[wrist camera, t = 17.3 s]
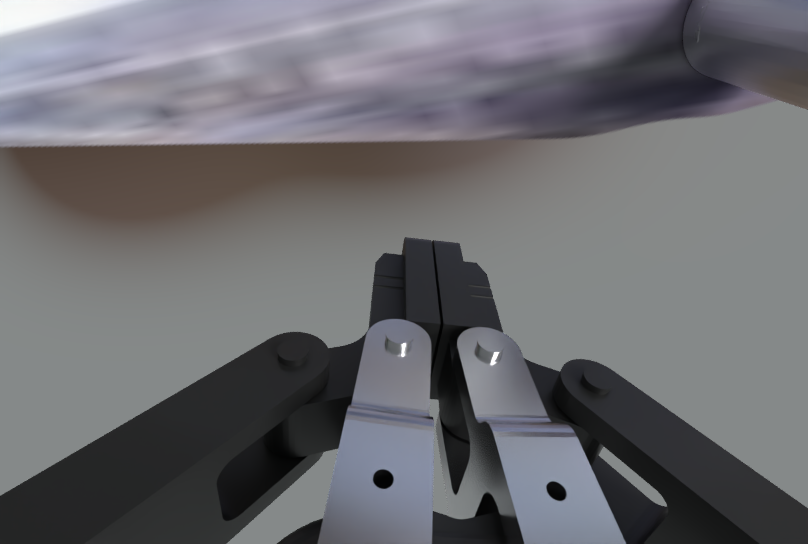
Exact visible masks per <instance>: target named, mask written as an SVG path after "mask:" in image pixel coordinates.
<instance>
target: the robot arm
mask: <svg viewBox="0 0 808 544" xmlns="http://www.w3.org/2000/svg"><path fill="white" fill-rule="evenodd" d="M683 48H684V51H685V54H686V57H687V59H688V61H689V62H690V64H691V66H692V67H693V68H694V69H696V70H697V71H698V72H699V73H701V74H703V75H706V76H708V77H711V78H714V79H717V80H720V81H723V82H726V83H729V84H732V85H734V86H737V87H740V88H743V89H746V90H749V91H752V92H755V93H758V94H761V95H764V96H767V97H770V98H773V99H776V100H779V101H782V102H785V103H789V104H791V105H794V106H797V107H800V108H803V109H807V110H808V0H693V1H692V3H691V5H690V6H689V9H688V12H687V15H686V19H685V22H684V29H683ZM430 399H438V400H439V414H438V418H437V422H436V433H437V440H438V446H439V452H440V459H441V464H442V471H443V477H444V484H445V490H446V496H447V504H448V516H446V515H443V514H440V513H437V512H434V511H433V463H434V459H433V458H434V420H433V417H430V415H429V409H430ZM603 447H605V448H607V449H608V450H609V451H610V452H612V453H613V454H614V455H615V456H616V457H617V458H619V459H620V460H621V461H622V462H624V463H625V464H626V465H627V466H628V467H630V468H631V469H632V470H633V471H634V472H636V473H637V474H638V475H639V476H640V477H641V478H643V479H644V480H645V481H646V482H647V483H649V484H650V485H651V486H652V487H653V488H655V489H656V490H657V491H658V492H659V493H660V494H661V495H662V497H663V498H664V500H665V502H666V503H667V507H664V506H660V505H658V504H656V503H654V502H653V501H651V500H650V499H649V498H648V497H646V496H645V495H644V494H643V493H642V492H640V491H639V490H638V489H637V488H636V487H635V486H633V485H632V484H631V483H630V482H629V481H628V480H626V479H625V478H624V477H623V476H622V475H621V474H619V473H618V472H617V471H616V470H615V469H614V468H612V467H611V466H610V465H609V464H608V463H607V462H605V461H604V460H603V459H602V458H601V457H600V456H598V455H599V453H600V451H601V450H602V448H603ZM338 448H339V449H338ZM333 449H338V454H337V458H336V463H335V467H334V471H333V476H332V481H331V485H330V489H329V494H328V499H327V503H326V508H325V512H324V517H323V518H322V519H320V520H317V521H314V522H311V523H309V524H308V525H305V526H303V527H301V528H299V529H297V530H296V531H294V532H293V533H291V534H289V535H288V536H286V537H285V538H284V539H282V540H281V541H280V542H279V543H277V544H808V508H807V507H805V506H804V505H802V504H801V503H799V502H798V501H797V500H795V499H794V498H792V497H791V496H790V495H788V494H787V493H785V492H784V491H783V490H781V489H780V488H778V487H777V486H775V485H774V484H773V483H771V482H770V481H768V480H767V479H765V478H764V477H763V476H761V475H760V474H758V473H757V472H755V471H754V470H753V469H751V468H750V467H749V466H747V465H746V464H744V463H743V462H741V461H740V460H739V459H737V458H736V457H734V456H733V455H731V454H730V453H729V452H727V451H726V450H724V449H723V448H722V447H720V446H719V445H717V444H716V443H715V442H713V441H712V440H710V439H709V438H707V437H706V436H704V435H703V434H702V433H700V432H699V431H698V430H696V429H695V428H693V427H692V426H690V425H689V424H688V423H686V422H685V421H683V420H682V419H680V418H679V417H678V416H676V415H675V414H674V413H672V412H670V411H669V410H668V409H666V408H665V407H664V406H662V405H661V404H659V403H658V402H657V401H655V400H654V399H652V398H651V397H649V396H648V395H646V394H645V393H644V392H642V391H641V390H639V389H638V388H637V387H635V386H634V385H632V384H631V383H630V382H628V381H627V380H625V379H624V378H622V377H621V376H620V375H618V374H617V373H615V372H614V371H612V370H611V369H609V368H608V367H606V366H604V365H602V364H600V363H597V362H594V361H591V360H584V359H576V360H571V361H569V362H567V363H566V364H564V366H563V367H562V369H561V371H560V372H559V371H556V370H553V369H550V368H547V367H544V366H541V365H538V364H535V363H533V362H530V361H528V360H526V359H525V358H523V355H522V353H521V350H520V348H519V346H518V345H517V344H516V342H515V341H514V340H513V339H511V338H510V337H509V336H507V335H506V334H504V333H503V330H502V327H501V323H500V320H499V316H498V312H497V309H496V305H495V302H494V299H493V295H492V291H491V289H490V284H489V281H488V277H487V274H486V273H485V272H484V271H483V270H482V269H481V267H480V266H479V265H478V264H477V263H472V262H464V261H463V257H462V253H461V248H460V244H459V243H452V242H443V241H434V240H433V241H431V240H424V239H415V238H406V237H405V239H404V244H403V250H402V255H397V254H387V253H384V254H383V255H382V256H381V257H380V258H379V260H378V261H377V262H376V265H375V274H374V283H373V292H372V301H371V311H370V321H369V329H368V331H367V332H366V334H365V335H364V336H363V337H362V338H361V339H359V340H358V341H356V342H354V343H351V344H349V345H345V346H340V347H334V348H328V347H327V346H326V344H325V343H324V342H323V341H322V340H321V339H319V338H318V337H316V336H314V335H311V334H308V333H302V332H290V333H289V332H288V333H283V334H280V335H277V336H274V337H272V338H270V339H268V340H267V341H265V342H264V343H262V344H260V345H258V346H257V347H255V348H253V349H251V350H250V351H248V352H246V353H244V354H243V355H241V356H239V357H238V358H236V359H234V360H233V361H231V362H229V363H227V364H226V365H224V366H222V367H221V368H219V369H217V370H215V371H214V372H212V373H210V374H208V375H207V376H205V377H203V378H202V379H200V380H198V381H196V382H195V383H193V384H191V385H190V386H188V387H186V388H184V389H183V390H181V391H179V392H178V393H176V394H174V395H172V396H171V397H169V398H167V399H166V400H164V401H162V402H160V403H159V404H157V405H155V406H154V407H152V408H150V409H149V410H147V411H145V412H143V413H142V414H140V415H138V416H136V417H135V418H133V419H132V420H130V421H128V422H126V423H124V424H123V425H121V426H119V427H118V428H116V429H114V430H112V431H111V432H109V433H107V434H106V435H104V436H102V437H100V438H99V439H97V440H95V441H94V442H92V443H90V444H88V445H87V446H85V447H83V448H82V449H80V450H78V451H76V452H75V453H73V454H71V455H70V456H68V457H67V458H64V459H63V460H61V461H59V462H58V463H56V464H54V465H52V466H51V467H49V468H47V469H46V470H44V471H42V472H41V473H39V474H37V475H36V476H34V477H32V478H30V479H28V480H27V481H25V482H23V483H22V484H20V485H18V486H16V487H15V488H13V489H11V490H10V491H8V492H6V493H4V494H3V495H1V496H0V544H226V543H227V542H229V541H230V540H231V539H232V538H233V537H234V536H235V535H236V534H238V533H239V532H240V531H241V530H242V529H243V528H244V527H245V526H246V525H248V524H249V523H250V522H251V521H252V520H253V519H254V518H255V517H256V516H257V515H258V514H260V513H261V512H262V511H263V510H264V509H265V508H266V507H267V506H269V505H270V504H271V503H272V502H273V501H274V500H275V499H276V498H277V497H279V496H280V495H281V494H282V493H283V492H284V491H285V490H286V489H287V488H289V487H290V486H291V485H292V484H293V483H294V482H295V481H296V480H297V479H299V478H300V477H301V476H302V475H303V474H304V473H305V472H306V471H307V470H309V469H310V468H311V467H312V466H313V465H314V464H315V463H316V462H317V461H318V460H319V459H320V457H321V456H322V454H323V452H325V451H329V450H333Z"/></svg>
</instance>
